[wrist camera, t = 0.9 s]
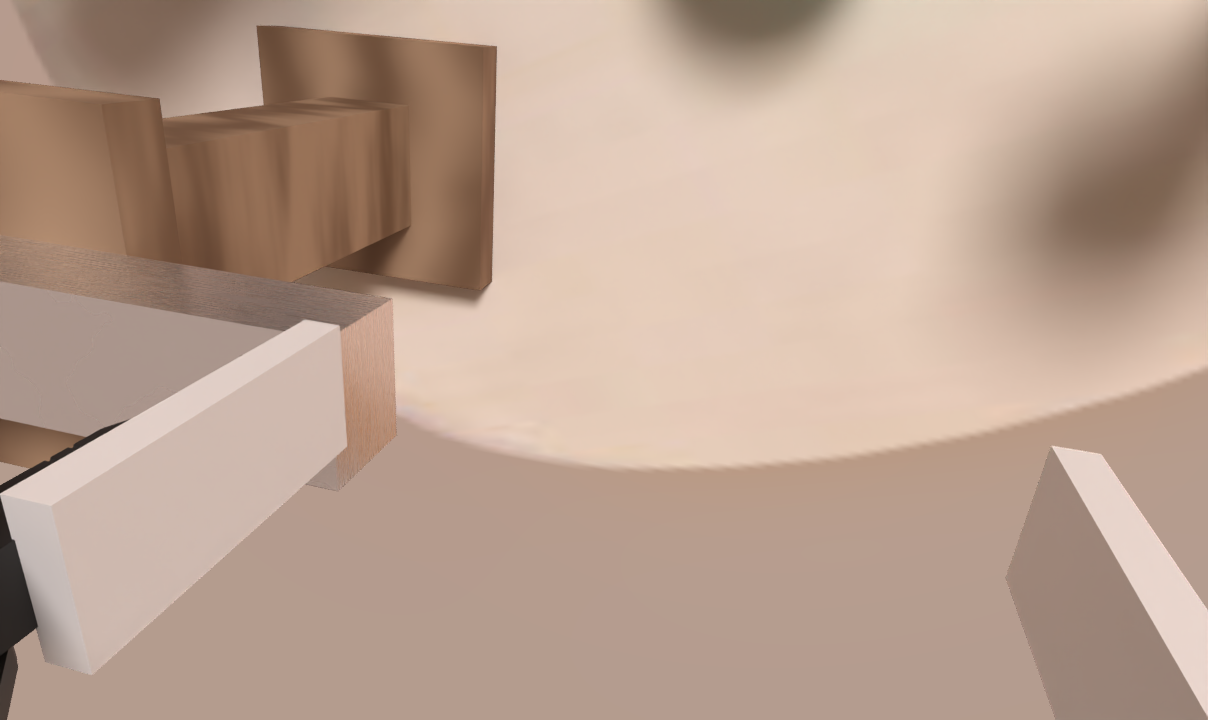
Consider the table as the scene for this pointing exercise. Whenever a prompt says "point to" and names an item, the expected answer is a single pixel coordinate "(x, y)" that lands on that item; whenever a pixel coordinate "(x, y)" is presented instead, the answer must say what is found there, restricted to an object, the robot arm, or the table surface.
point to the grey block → (170, 340)
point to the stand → (267, 172)
